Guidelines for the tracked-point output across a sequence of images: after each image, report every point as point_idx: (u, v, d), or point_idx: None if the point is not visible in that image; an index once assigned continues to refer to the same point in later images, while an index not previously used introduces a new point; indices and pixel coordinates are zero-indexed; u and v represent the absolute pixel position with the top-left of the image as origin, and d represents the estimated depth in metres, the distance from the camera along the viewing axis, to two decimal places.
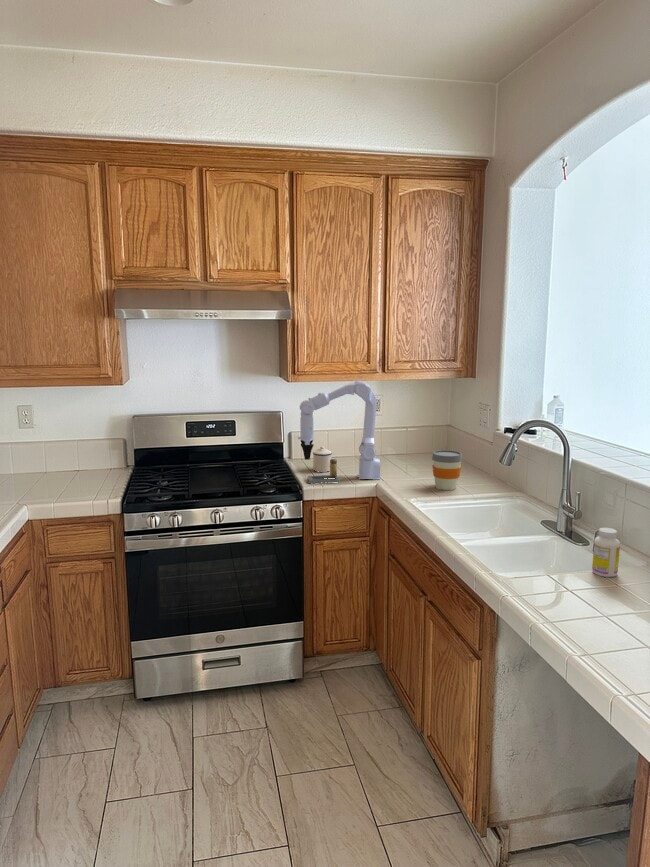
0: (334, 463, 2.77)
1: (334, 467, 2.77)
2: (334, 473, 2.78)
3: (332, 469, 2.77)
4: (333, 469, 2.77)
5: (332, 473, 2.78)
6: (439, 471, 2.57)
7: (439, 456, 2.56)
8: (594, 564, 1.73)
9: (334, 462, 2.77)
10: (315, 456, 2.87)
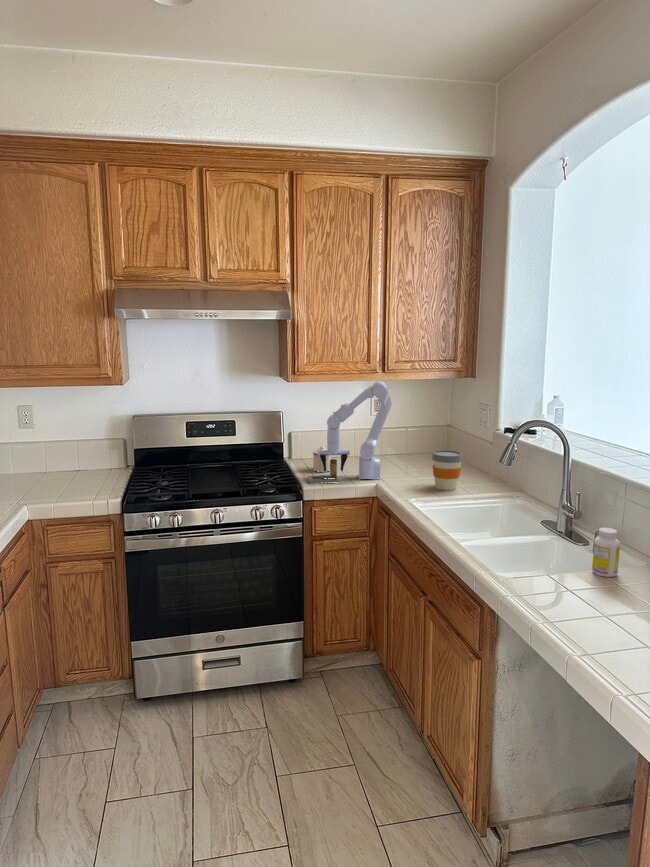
0: (334, 463, 2.77)
1: (334, 467, 2.77)
2: (334, 473, 2.78)
3: (332, 469, 2.77)
4: (333, 469, 2.77)
5: (332, 473, 2.78)
6: (439, 471, 2.57)
7: (439, 456, 2.56)
8: (594, 564, 1.73)
9: (334, 462, 2.77)
10: (315, 456, 2.87)
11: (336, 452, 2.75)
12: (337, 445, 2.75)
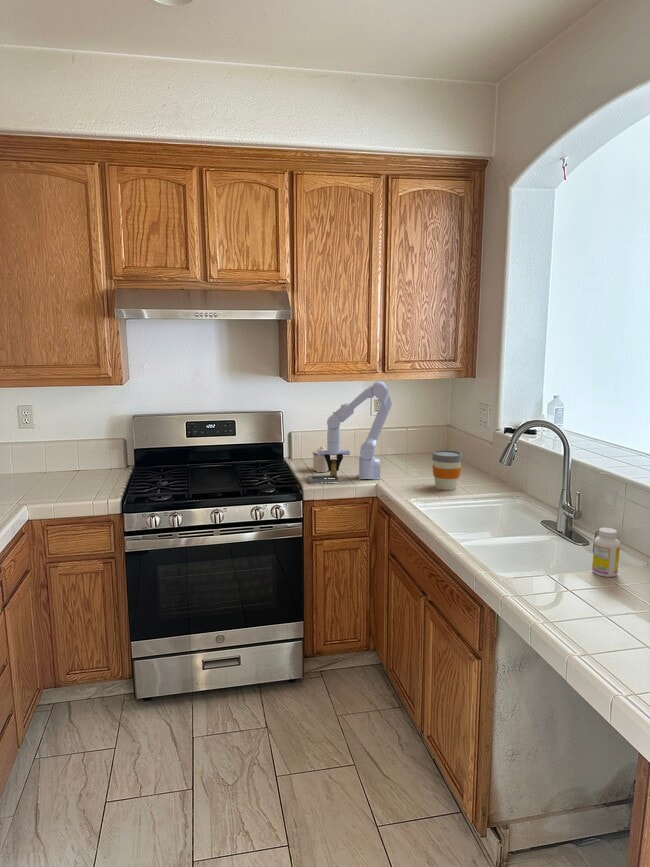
0: (334, 463, 2.77)
1: (334, 467, 2.77)
2: (334, 473, 2.78)
3: (332, 469, 2.77)
4: (333, 469, 2.77)
5: (332, 473, 2.78)
6: (439, 471, 2.57)
7: (439, 456, 2.56)
8: (594, 564, 1.73)
9: (334, 462, 2.77)
10: (315, 456, 2.87)
11: (336, 452, 2.75)
12: (337, 445, 2.75)
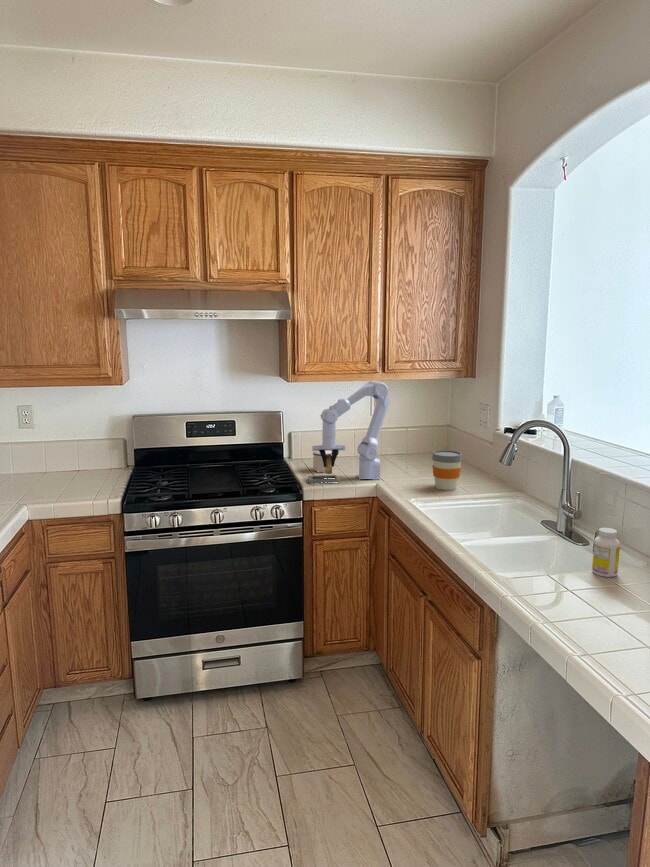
0: (329, 459, 2.69)
1: (329, 463, 2.70)
2: (329, 469, 2.70)
3: (327, 465, 2.70)
4: (328, 465, 2.70)
5: (327, 469, 2.70)
6: (439, 471, 2.57)
7: (439, 456, 2.56)
8: (594, 564, 1.73)
9: (329, 458, 2.69)
10: (315, 456, 2.87)
11: (331, 447, 2.67)
12: (332, 440, 2.67)
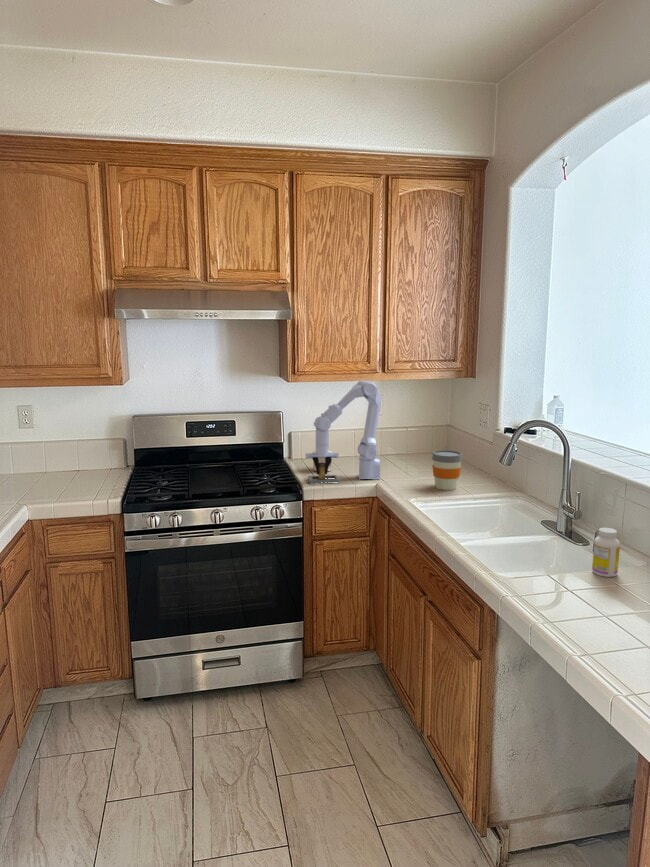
0: (322, 466, 2.70)
1: (322, 470, 2.70)
2: (322, 477, 2.70)
3: (320, 472, 2.70)
4: (321, 473, 2.70)
5: (320, 477, 2.70)
6: (439, 471, 2.57)
7: (439, 456, 2.56)
8: (594, 564, 1.73)
9: (322, 465, 2.69)
10: None
11: (324, 455, 2.67)
12: (325, 448, 2.67)
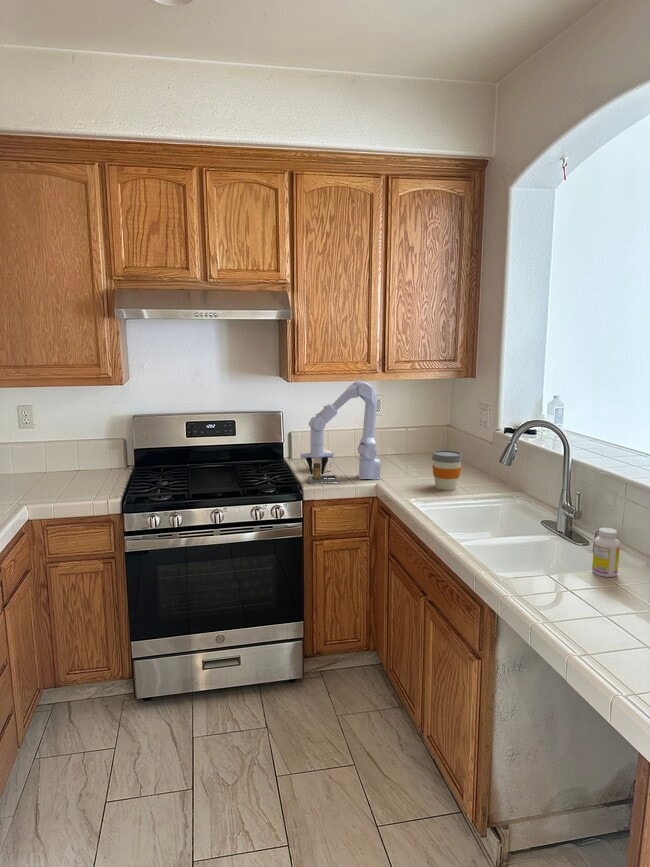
0: (317, 467, 2.69)
1: (317, 471, 2.70)
2: (317, 477, 2.70)
3: (315, 473, 2.70)
4: (316, 473, 2.70)
5: (315, 477, 2.70)
6: (439, 471, 2.57)
7: (439, 456, 2.56)
8: (594, 564, 1.73)
9: (317, 466, 2.69)
10: None
11: (319, 455, 2.67)
12: (320, 448, 2.67)
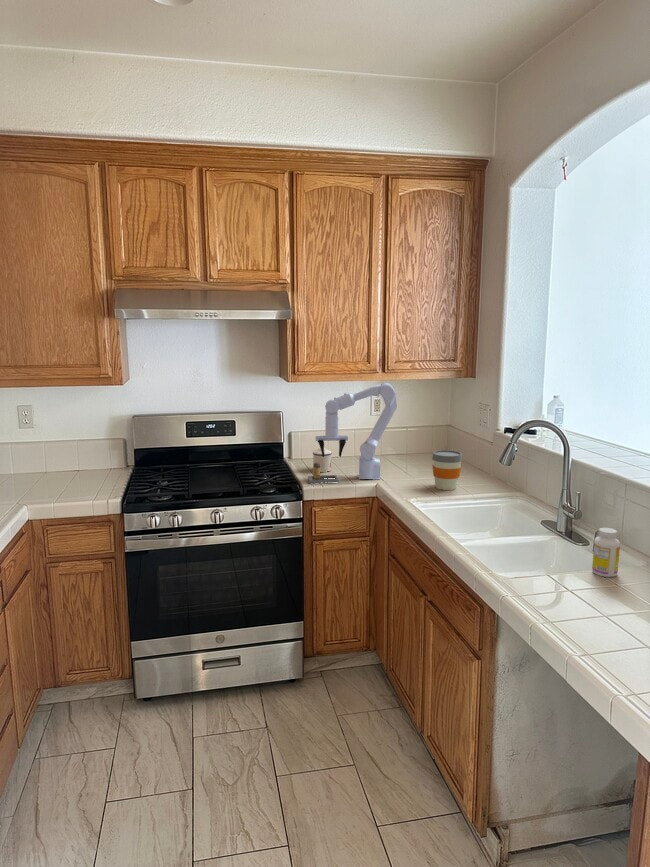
0: (317, 467, 2.69)
1: (317, 471, 2.70)
2: (317, 477, 2.70)
3: (315, 473, 2.70)
4: (316, 473, 2.70)
5: (315, 477, 2.70)
6: (439, 471, 2.57)
7: (439, 456, 2.56)
8: (594, 564, 1.73)
9: (317, 466, 2.69)
10: (315, 456, 2.87)
11: (334, 437, 2.72)
12: (335, 430, 2.72)
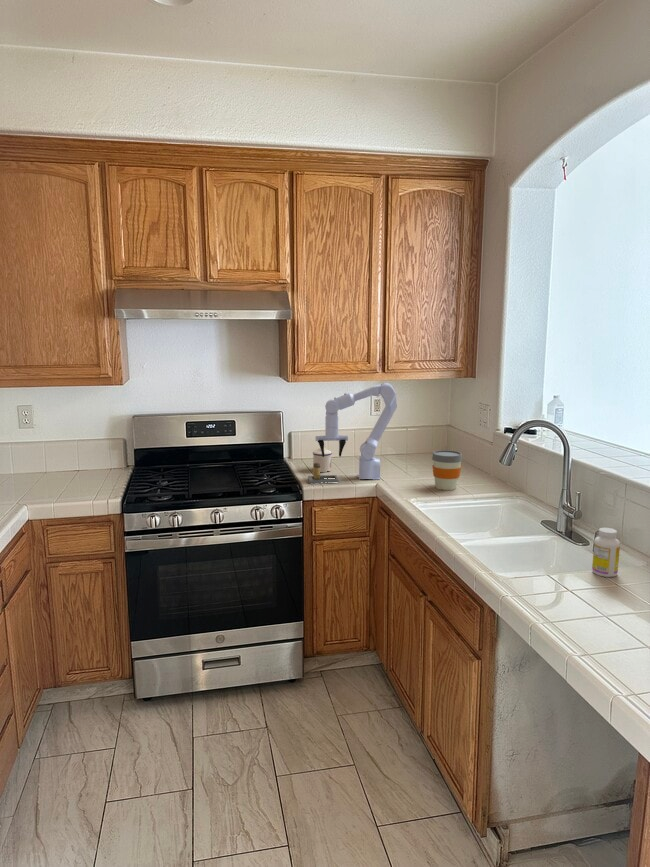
0: (317, 467, 2.69)
1: (317, 471, 2.70)
2: (317, 477, 2.70)
3: (315, 473, 2.70)
4: (316, 473, 2.70)
5: (315, 477, 2.70)
6: (439, 471, 2.57)
7: (439, 456, 2.56)
8: (594, 564, 1.73)
9: (317, 466, 2.69)
10: (315, 456, 2.87)
11: (334, 437, 2.72)
12: (335, 430, 2.72)
